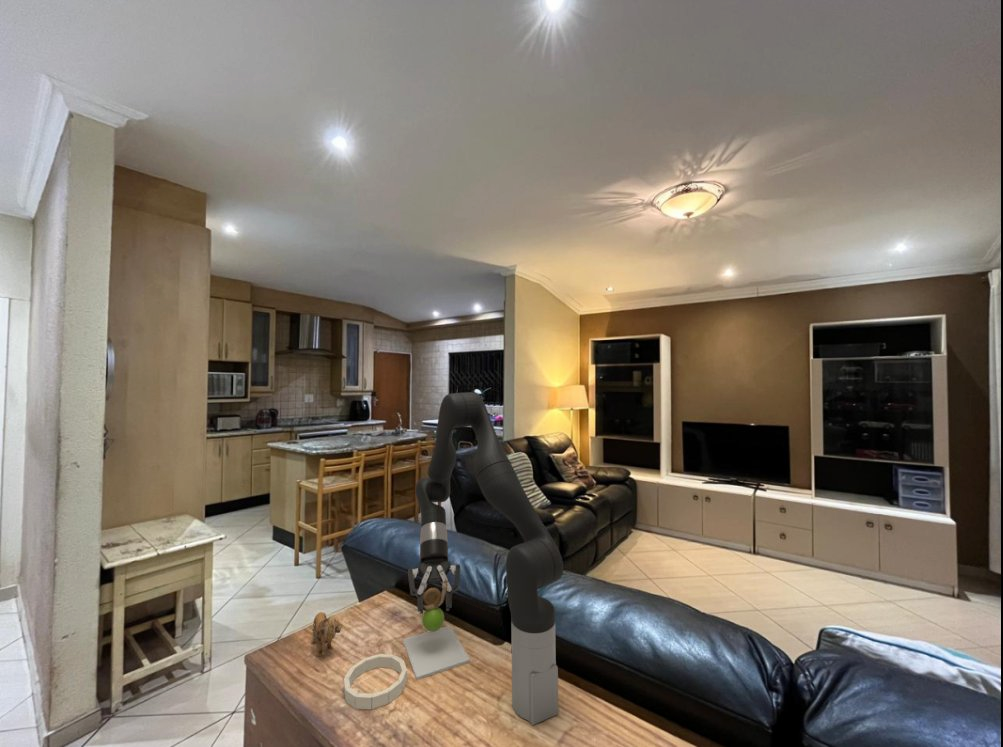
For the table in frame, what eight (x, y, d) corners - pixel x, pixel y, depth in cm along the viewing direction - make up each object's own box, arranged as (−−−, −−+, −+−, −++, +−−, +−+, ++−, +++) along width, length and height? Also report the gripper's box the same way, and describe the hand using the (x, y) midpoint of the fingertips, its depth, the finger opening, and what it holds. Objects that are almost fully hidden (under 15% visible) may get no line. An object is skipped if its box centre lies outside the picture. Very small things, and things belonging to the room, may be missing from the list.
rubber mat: (470, 662, 95) (470, 659, 95) (416, 680, 90) (416, 677, 90) (450, 627, 109) (450, 625, 109) (402, 641, 103) (402, 638, 103)
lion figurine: (344, 653, 99) (344, 617, 99) (322, 664, 95) (323, 626, 95) (322, 628, 109) (322, 595, 109) (301, 637, 105) (301, 602, 106)
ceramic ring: (411, 695, 85) (411, 684, 85) (347, 718, 80) (347, 706, 80) (399, 658, 97) (399, 648, 97) (342, 675, 91) (342, 664, 91)
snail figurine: (450, 632, 98) (450, 583, 99) (424, 638, 96) (424, 589, 96) (445, 620, 103) (445, 573, 104) (420, 625, 101) (420, 578, 101)
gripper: (406, 539, 106) (404, 610, 94) (460, 535, 109) (464, 603, 97) (407, 551, 111) (405, 619, 99) (459, 547, 114) (463, 612, 102)
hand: (434, 611), depth 98 cm, fingers closed on snail figurine, 6 cm apart
